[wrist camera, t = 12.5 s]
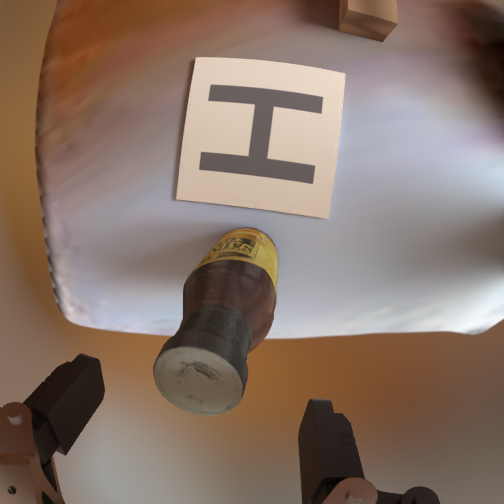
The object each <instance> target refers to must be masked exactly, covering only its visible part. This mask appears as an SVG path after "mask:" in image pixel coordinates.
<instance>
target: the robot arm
mask: <svg viewBox="0 0 504 504" xmlns="http://www.w3.org/2000/svg"><path fill="white" fill-rule="evenodd" d="M104 393H105V387H104V381H103V376H102V371H101V365H100V361H99V360H98V359H97V358H94V357H91V356H88V355H85V354H82V353H81V354H79V355H78V356H77V357H76V358H75V359H74V360H73V361H72V362H66V363H64V364H62V365H60V366H58V367H57V368H56V369H55V370H54V371H53V372H52V373H51V375H50V376H48V377H47V378H46V379H45V382H42V383H41V384H40V386H38V387H37V389H36V390H35V391H34V392H33V393H32V394H31V395H30V396H29V397H28V398H27V399H26V400H25V401H24V402H23V403H20V402H11V403H8V404H6V405H4V406H3V407H2V408H1V407H0V504H65V502H64V500H63V497H62V493H61V490H60V485H59V481H58V477H57V472H56V467H55V462H54V458H53V454H54V453H55V451H57V452H60V453H61V454H64V455H67V453H68V451H69V450H70V449H71V447H72V445H73V444H74V442H75V441H76V439H77V438H78V436H79V435H80V433H81V432H82V430H83V429H84V427H85V426H86V424H87V423H88V421H89V420H90V418H91V417H92V415H93V414H94V412H95V411H96V409H97V408H98V406H99V405H100V403H101V402H102V400H103V398H104ZM355 443H356V442H355V438H354V436H353V431H352V427H351V423H350V422H349V421H348V419H347V418H346V417H345V416H344V415H343V414H342V413H334V411H333V406H332V402H331V400H324V399H323V400H322V399H310V400H309V402H308V404H307V407H306V411H305V414H304V416H303V419H302V422H301V425H300V428H299V434H298V444H299V457H300V458H299V459H300V474H301V491H302V504H440V502H439V499H438V497H437V495H436V493H435V492H434V491H432V490H431V489H429V488H426V487H413V488H411V489H409V490H408V491H407V492H406V493H405V494H395V493H388V492H382V491H379V490H377V489H376V488H375V486H374V485H373V484H372V483H371V482H369V481H367V480H366V479H365V477H364V473H363V469H362V465H361V462H360V458H359V453H358V450H357V446H356V445H355Z"/></svg>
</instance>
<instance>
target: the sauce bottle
mask: <svg viewBox="0 0 504 504" xmlns="http://www.w3.org/2000/svg"><path fill="white" fill-rule="evenodd" d="M277 278H278V254H277V251H276V248H275V245H274V243H273V241H272V240H271V239H270V237H269V236H268V235H266V234H265V233H263V232H262V231H260V230H257V229H256V228H241V229H236V230H233V231H231V232H229V233H227V234H226V235H224V236H223V237H222V238H221V239H220V240H219V242H218V243H217V244H216V245H215V246H214V247H213V248H212V250H211V251H210V252H209V253H208V254H207V255H206V257H205V258H203V260H202V261H201V262H200V264H199V265H198V266H197V267H196V268H195V269H194V270H193V272H192V273H191V274H190V275H189V277H188V278H187V280H186V282H185V284H184V288H183V320H182V322H181V325H180V328H179V330H178V331H177V332H176V334H175V335H174V336H172V337H171V338H170V339H169V340H168V341H167V342H166V343H165V344H164V345H163V347H162V350H161V351H160V353H159V355H158V357H157V359H156V361H155V364H154V366H153V373H154V379H155V383H156V386H157V388H158V389H159V391H160V392H161V394H162V395H163V396H164V397H165V398H166V399H167V400H168V401H169V402H171V403H172V404H173V405H175V406H177V407H178V408H180V409H181V410H184V411H187V412H190V413H192V414H196V415H202V416H214V415H219V414H222V413H225V412H227V411H230V410H232V409H234V408H235V407H236V406H237V405H238V404H239V402H240V401H241V399H242V397H243V394H244V390H245V385H246V382H247V378H248V367H247V363H246V360H247V354H248V353H249V352H250V351H252V350H253V349H254V348H256V347H257V346H258V345H259V344H260V343H261V342H262V341H263V340H264V338H265V337H266V336H267V334H268V332H269V330H270V328H271V325H272V322H273V319H274V310H275V306H276V297H277Z"/></svg>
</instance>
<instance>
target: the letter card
mask: <svg viewBox="0 0 504 504" xmlns="http://www.w3.org/2000/svg"><path fill="white" fill-rule="evenodd" d="M344 85H345V73H340V72H335V71H330V70H325V69H320V68H314V67H308V66H302V65H295V64H288V63H280V62H272V61H262V60H250V59H236V58H207V57H196V60H195V66H194V71H193V77H192V82H191V88H190V94H189V101H188V107H187V114H186V120H185V127H184V135H183V142H182V150H181V159H180V168H179V177H178V187H177V197H176V199H178V200H188V201H197V202H206V203H215V204H223V205H232V206H240V207H248V208H255V209H263V210H270V211H278V212H285V213H292V214H299V215H305V216H312V217H319V218H325V219H328V218H329V211H330V205H331V198H332V192H333V185H334V178H335V170H336V162H337V155H338V146H339V138H340V129H341V119H342V109H343V98H344Z"/></svg>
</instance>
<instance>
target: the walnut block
mask: <svg viewBox="0 0 504 504" xmlns="http://www.w3.org/2000/svg"><path fill="white" fill-rule="evenodd" d="M397 24H398V14H397V2H396V0H339V25H338V31H340V32H345V33H350V34H354V35H358V36H362V37H366V38H370V39H373V40H377V41H380V42H383V41H384V40H385V38H386V37H387V36H388V35H389V34H390V33H391V31H392V30H393V29H394V28H395V27H396V26H397Z"/></svg>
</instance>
